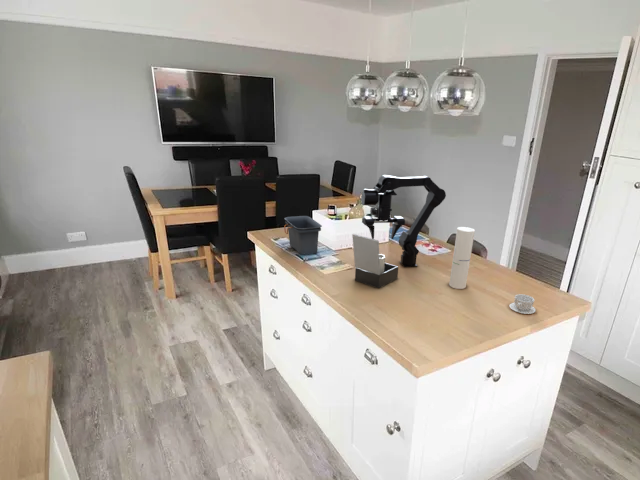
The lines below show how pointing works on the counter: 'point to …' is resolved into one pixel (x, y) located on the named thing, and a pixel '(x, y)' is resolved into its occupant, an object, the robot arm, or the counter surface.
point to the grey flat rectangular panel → (366, 254)
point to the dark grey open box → (377, 276)
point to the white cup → (382, 263)
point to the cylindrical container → (461, 257)
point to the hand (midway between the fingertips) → (382, 239)
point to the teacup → (523, 304)
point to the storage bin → (303, 234)
